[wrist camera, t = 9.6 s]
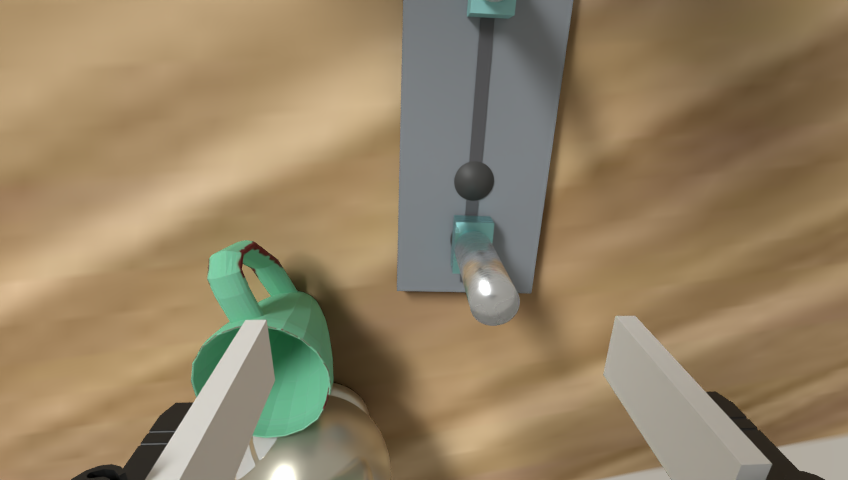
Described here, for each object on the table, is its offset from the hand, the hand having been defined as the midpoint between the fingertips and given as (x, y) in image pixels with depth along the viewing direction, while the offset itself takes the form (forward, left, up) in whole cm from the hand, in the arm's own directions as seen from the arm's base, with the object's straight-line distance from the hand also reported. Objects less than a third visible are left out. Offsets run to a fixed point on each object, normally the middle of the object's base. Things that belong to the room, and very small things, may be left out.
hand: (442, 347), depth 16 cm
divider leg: (+3, +4, -20) cm, 20 cm away
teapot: (+24, -10, -22) cm, 34 cm away
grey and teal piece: (-5, +4, -22) cm, 23 cm away
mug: (+9, -12, -22) cm, 27 cm away
